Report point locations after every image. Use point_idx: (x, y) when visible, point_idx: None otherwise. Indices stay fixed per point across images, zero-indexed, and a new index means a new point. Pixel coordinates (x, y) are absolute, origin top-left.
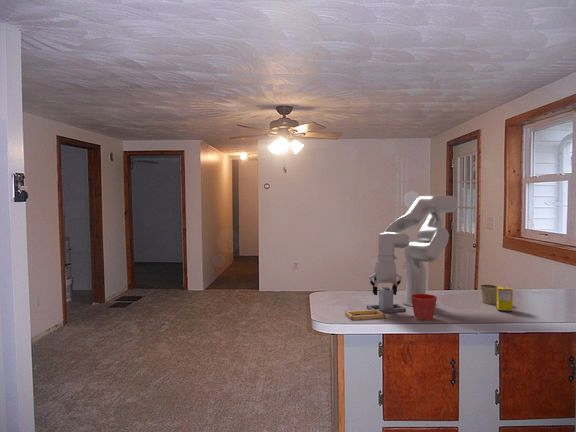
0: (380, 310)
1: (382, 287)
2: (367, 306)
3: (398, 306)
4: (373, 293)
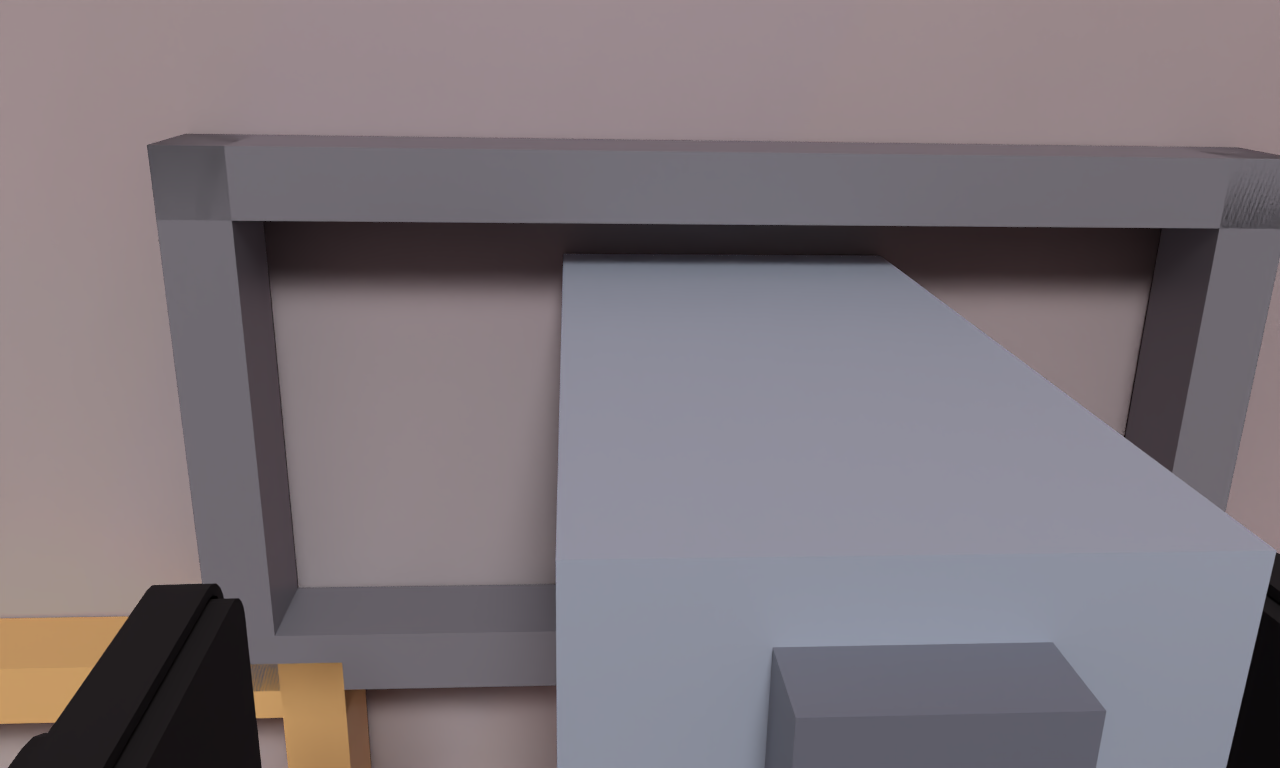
0: (426, 677)
1: (787, 696)
2: (161, 218)
3: (1176, 369)
4: (156, 614)
